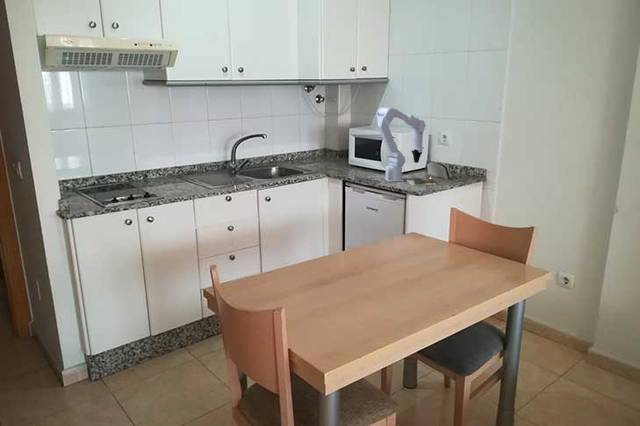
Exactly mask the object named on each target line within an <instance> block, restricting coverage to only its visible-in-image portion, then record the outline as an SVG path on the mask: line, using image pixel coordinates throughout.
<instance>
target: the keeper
mask: <svg viewBox="0 0 640 426" xmlns="http://www.w3.org/2000/svg"><path fill="white" fill-rule="evenodd" d="M421 179H422V178H421V177H420V176H417V177H415V176H413V177H412V180H414V184H421Z"/></svg>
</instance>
